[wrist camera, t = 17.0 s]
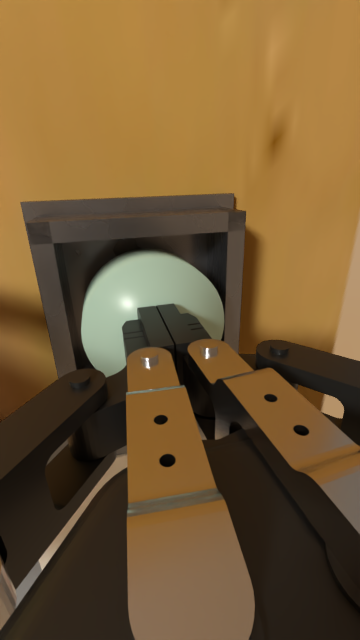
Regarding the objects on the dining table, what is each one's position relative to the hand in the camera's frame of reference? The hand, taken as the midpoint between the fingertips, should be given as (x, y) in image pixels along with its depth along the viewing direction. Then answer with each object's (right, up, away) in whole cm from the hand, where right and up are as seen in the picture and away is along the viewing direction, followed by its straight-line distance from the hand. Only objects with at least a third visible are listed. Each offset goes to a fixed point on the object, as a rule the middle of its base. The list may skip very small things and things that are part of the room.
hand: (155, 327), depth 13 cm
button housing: (-1, +2, +4) cm, 5 cm away
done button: (0, +1, +2) cm, 2 cm away
